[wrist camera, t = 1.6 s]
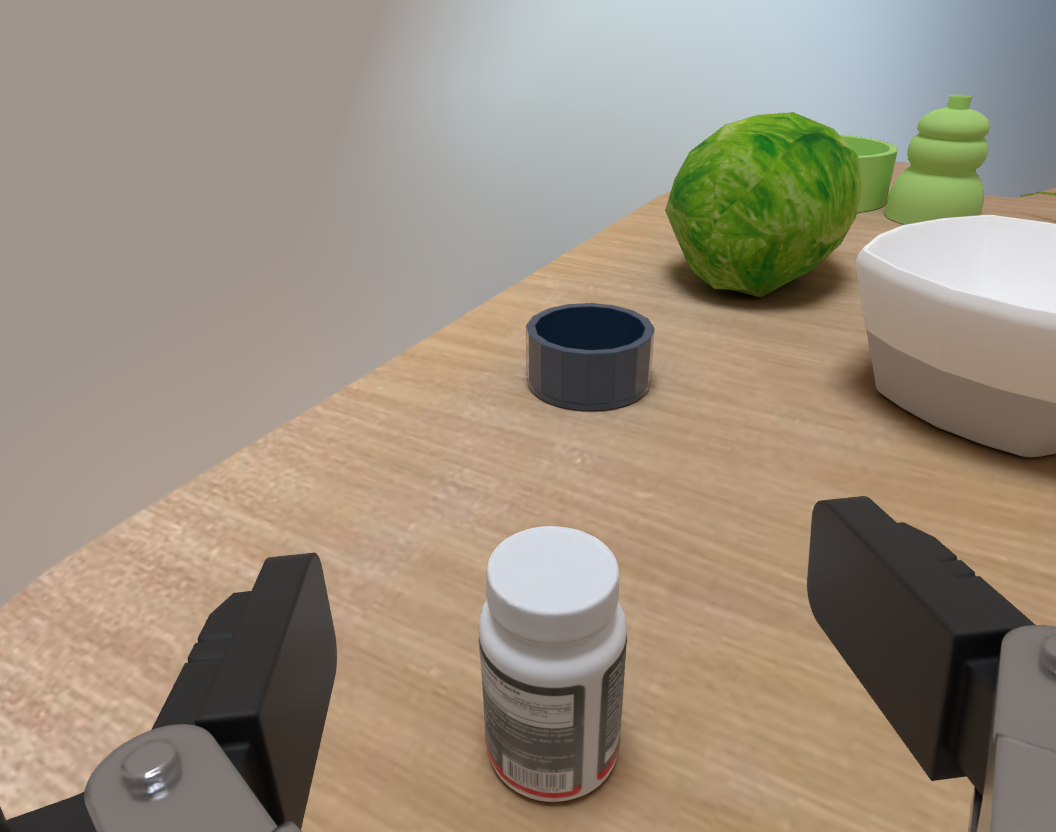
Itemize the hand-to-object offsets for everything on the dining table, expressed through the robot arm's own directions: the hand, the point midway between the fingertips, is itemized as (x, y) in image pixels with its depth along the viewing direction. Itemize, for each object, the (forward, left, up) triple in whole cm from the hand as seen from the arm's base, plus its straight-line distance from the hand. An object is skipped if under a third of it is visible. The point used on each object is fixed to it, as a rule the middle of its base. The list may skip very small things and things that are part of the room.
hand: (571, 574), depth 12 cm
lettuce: (-20, +58, -16) cm, 64 cm away
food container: (-20, +87, -16) cm, 91 cm away
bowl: (+2, +43, -16) cm, 46 cm away
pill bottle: (-5, +6, -16) cm, 18 cm away
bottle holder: (-20, +30, -15) cm, 40 cm away
